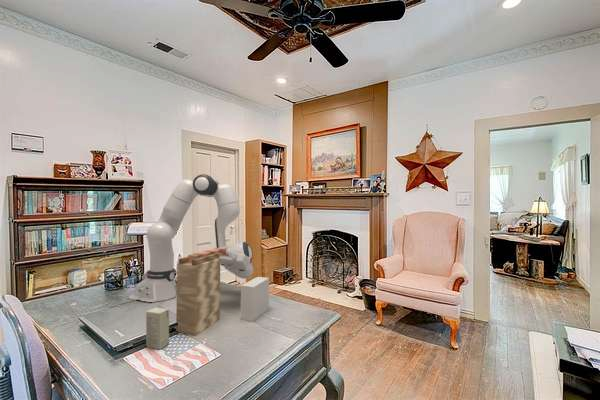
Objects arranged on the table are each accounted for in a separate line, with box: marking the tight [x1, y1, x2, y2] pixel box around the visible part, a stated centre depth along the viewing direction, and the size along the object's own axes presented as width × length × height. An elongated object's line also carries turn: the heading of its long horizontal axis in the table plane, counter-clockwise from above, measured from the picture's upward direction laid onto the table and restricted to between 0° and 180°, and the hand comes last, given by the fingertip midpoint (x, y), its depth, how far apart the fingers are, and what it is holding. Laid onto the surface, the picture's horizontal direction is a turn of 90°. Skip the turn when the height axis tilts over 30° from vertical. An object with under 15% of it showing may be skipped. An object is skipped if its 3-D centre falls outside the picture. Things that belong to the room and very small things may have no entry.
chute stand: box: [175, 253, 221, 337], centre depth 113 cm, size 15×9×28 cm, turn 161°
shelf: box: [239, 276, 270, 323], centre depth 126 cm, size 15×6×14 cm, turn 161°
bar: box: [187, 247, 227, 263], centre depth 119 cm, size 20×4×3 cm, turn 161°
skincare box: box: [145, 306, 170, 350], centre depth 98 cm, size 6×4×12 cm
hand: (219, 252), depth 126 cm, fingers open, 8 cm apart
